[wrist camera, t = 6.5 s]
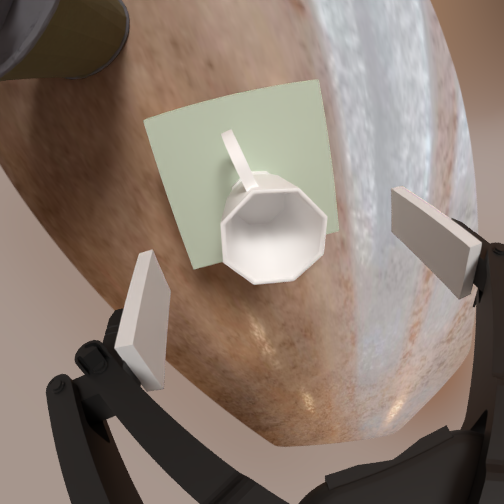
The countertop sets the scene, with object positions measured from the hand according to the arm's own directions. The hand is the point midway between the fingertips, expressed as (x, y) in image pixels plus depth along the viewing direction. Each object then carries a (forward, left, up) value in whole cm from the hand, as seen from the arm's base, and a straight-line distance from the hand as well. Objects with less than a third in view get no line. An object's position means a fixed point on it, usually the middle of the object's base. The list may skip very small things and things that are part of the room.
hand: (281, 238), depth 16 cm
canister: (-19, -13, -19) cm, 30 cm away
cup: (0, 0, -11) cm, 11 cm away
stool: (0, 0, -19) cm, 19 cm away
